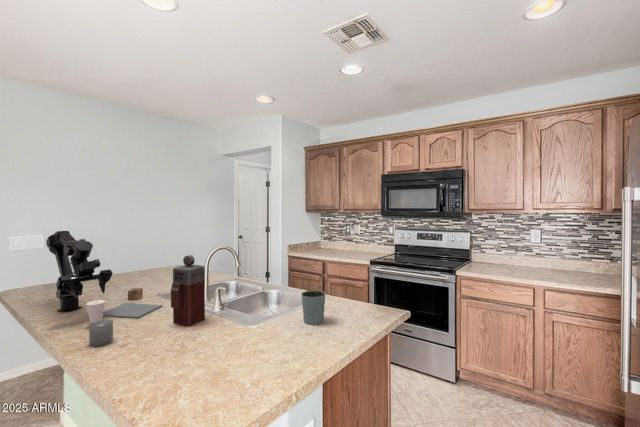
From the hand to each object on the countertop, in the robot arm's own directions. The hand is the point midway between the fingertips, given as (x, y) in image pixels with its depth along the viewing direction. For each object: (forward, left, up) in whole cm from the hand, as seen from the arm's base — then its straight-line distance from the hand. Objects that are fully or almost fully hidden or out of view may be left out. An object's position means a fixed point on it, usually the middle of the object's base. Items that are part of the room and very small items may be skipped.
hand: (91, 295), depth 130 cm
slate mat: (+5, +16, -12) cm, 20 cm away
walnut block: (-7, +33, -12) cm, 35 cm away
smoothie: (+4, -2, -12) cm, 13 cm away
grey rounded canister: (+19, -15, -12) cm, 27 cm away
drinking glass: (+90, +18, -12) cm, 93 cm away
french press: (+38, +8, -12) cm, 41 cm away
